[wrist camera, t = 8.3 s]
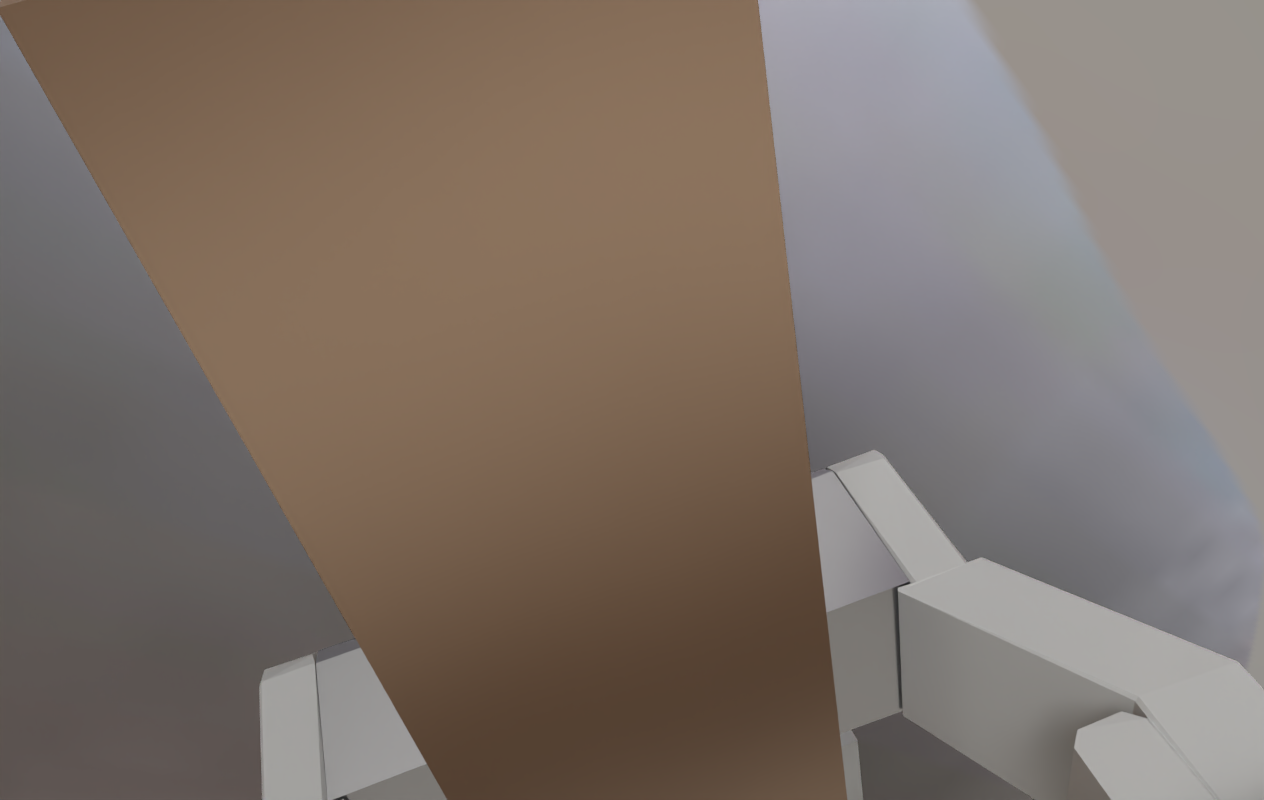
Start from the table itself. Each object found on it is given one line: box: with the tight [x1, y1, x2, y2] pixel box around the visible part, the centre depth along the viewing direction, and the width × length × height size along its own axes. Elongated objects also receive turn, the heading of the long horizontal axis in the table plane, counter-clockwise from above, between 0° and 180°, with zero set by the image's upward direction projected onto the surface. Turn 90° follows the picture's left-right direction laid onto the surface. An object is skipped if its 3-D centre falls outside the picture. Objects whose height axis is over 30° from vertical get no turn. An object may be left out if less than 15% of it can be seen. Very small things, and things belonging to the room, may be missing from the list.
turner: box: [0, 0, 863, 800], centre depth 12 cm, size 19×6×4 cm, turn 11°
